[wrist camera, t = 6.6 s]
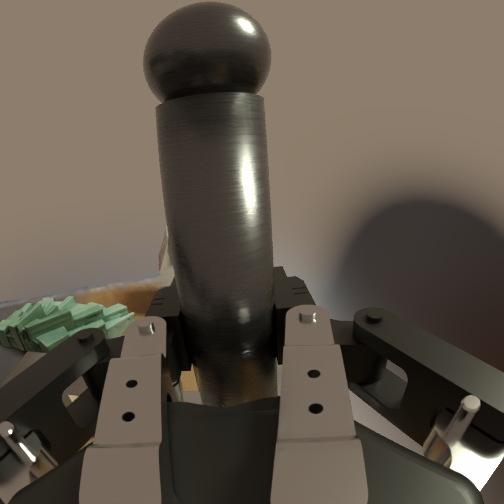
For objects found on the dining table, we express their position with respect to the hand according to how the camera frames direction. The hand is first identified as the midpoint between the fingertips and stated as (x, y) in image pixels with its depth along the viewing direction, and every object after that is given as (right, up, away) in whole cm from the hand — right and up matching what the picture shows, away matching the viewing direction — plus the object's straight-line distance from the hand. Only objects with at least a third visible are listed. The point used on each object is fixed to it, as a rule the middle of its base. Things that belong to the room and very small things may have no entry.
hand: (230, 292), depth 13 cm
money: (-23, -9, +20) cm, 32 cm away
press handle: (0, -11, +1) cm, 11 cm away
